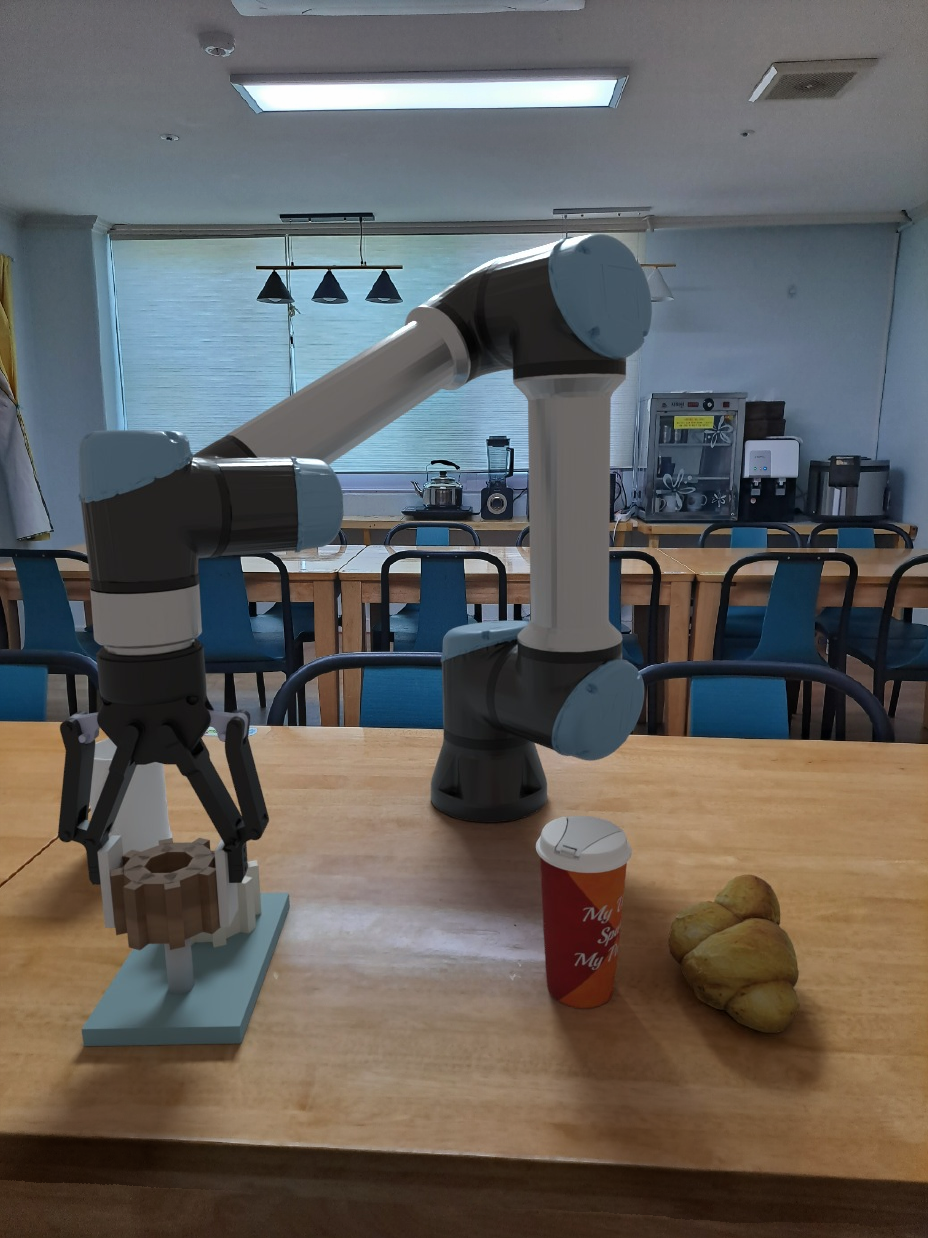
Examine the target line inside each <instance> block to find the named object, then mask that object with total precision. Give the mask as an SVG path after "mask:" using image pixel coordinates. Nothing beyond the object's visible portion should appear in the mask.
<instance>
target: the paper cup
mask: <svg viewBox="0 0 928 1238" xmlns="http://www.w3.org/2000/svg"><path fill="white" fill-rule="evenodd" d="M535 849H536V852H537V855H538V856H539V862H540V880H541V881H540V882H541V883H540V884H541V901H542V902H541V903H542V905H541V906H542V921H543V922H542V923H543V925H542V926H543V941H544V942H543V944H544V961H545V976H546V977H545V978H546V985H547V989H548V992H549V994H550V995H551V997H552V998H553V999H555V1000H556V1001H557V1002H559V1003H561V1004H562V1005H564V1006H566V1007H570V1008H575V1009H582V1010H586V1009H595V1008H598V1007H601V1006H603V1005H605V1004H607V1003H608V1002H609V1001H610V999H611V998H612V996H613V993H614V988H615V983H616V974H617V966H618V956H619V945H620V938H621V937H620V935H621V926H622V918H623V917H622V915H623V907H624V895H625V884H626V876H627V875H626V874H627V865H628V862H629V861H630V860H631V857H632V848H631V845H630V844H629V842H628V838H627V835H626V833H625V831H624V830H623V829H622V828H621V827H620V826H618V825H617V824H615V823H614V822H612V821H609V820H607V819H604V818H600V817H595V816H589V815H567V816H560V817H557V818H555V819H553V820H551V821H548V822H547V823H546V824H545V826H543V828H542V830H541V833H540V836H539V837H538V839H537V841H536V843H535Z"/></svg>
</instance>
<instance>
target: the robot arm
mask: <svg viewBox="0 0 928 1238" xmlns="http://www.w3.org/2000/svg"><path fill="white" fill-rule="evenodd" d="M652 304H653V303H652V295H651V290H650V285H649V282H648V279H647V276H646V274H645V271H644V269H643V267H642V265H641V263H640V262H638V261H637V259H636V257H635V254H634V253H633V252H632V250H631V249H630V248H629V247H628V246H627V245H626V244H625V243H623V242H622V240H619V239H617V238H615V237H614V236H611V235H608V234H604V233H591V234H587V235H582V236H566V237H564V238H561V239H559V240H558V241H555V242H551V243H549V244H545V245H542V246H538V247H535V248H532V249H528V250H527V249H526V250H524V251H520V252H517V253H513V254H509V255H504V256H500V257H497V258H494V259H492V260H489V261H488V262H485V263H483V264H481V265H479V266H478V267H476V268H474V269H473V270H471V271H469V272H468V273H466V274H465V275H464V276H462V277H460V278H459V279H457V280H456V281H454V282H452V283H451V284H450V285H448V286H447V287H445V288H444V289H442V290H441V291H439V292H438V293H436V294H434V295H433V296H432V297H431V298H429V299H427V300H425V301H424V302H423V303H421V304H420V305H418V306H416V307H414V308H413V309H411V310H410V311H409V313H408V314H407V316H406V319H405V322H404V326H402V327H401V328H399V329H398V330H396V331H394V332H392V333H391V334H389V335H387V336H386V337H384V338H383V339H381V340H379V341H378V342H377V343H375V344H372V345H371V346H370V347H368V348H366V349H364V350H363V351H362V352H360V353H358V354H356V355H355V356H353V357H351V358H350V359H349V360H346V361H345V362H344V363H342V364H340V365H339V366H337V367H335V368H334V369H332V370H330V371H329V372H327V373H325V374H324V375H322V376H321V377H319V378H317V379H315V380H314V381H312V382H310V383H308V384H307V385H306V386H304V387H302V388H300V389H299V390H297V391H296V392H294V393H293V394H291V395H289V396H288V397H286V398H285V399H283V400H280V401H279V402H278V403H276V404H275V405H273V406H271V407H270V408H268V409H266V410H264V411H263V412H261V413H260V414H258V415H256V416H255V417H253V418H251V419H250V420H249V421H246V422H245V423H243V424H242V425H240V426H238V427H237V428H235V429H234V430H232V431H229V432H228V433H227V434H225V436H223V437H221V438H219V439H218V440H215V441H213V442H211V444H209V445H208V446H205V447H204V448H202V449H201V450H198V451H197V452H196V453H193V451H192V450H191V444H190V441H189V438H188V436H187V435H186V434H184V433H183V432H181V431H176V430H150V429H149V430H147V429H146V430H145V429H143V430H141V429H140V430H139V429H138V430H137V429H135V430H134V429H128V430H127V429H121V430H120V429H119V430H116V429H109V430H107V429H106V430H95V431H91V432H88V433H86V434H85V435H84V436H83V438H82V439H81V440H80V441H79V445H78V475H79V476H78V477H79V478H78V479H79V494H78V502H80V506H81V508H80V509H81V515H82V521H83V522H82V523H83V531H84V539H85V548H86V555H87V562H88V564H87V565H88V573H89V586H90V589H89V590H90V601H91V615H92V617H91V618H92V627H93V628H92V629H93V639H94V641H95V643H97V644H98V645H100V646H101V647H100V649H99V650H98V651H97V652H96V654H95V656H96V657H95V658H96V668H97V676H98V677H97V678H98V679H97V680H98V687H99V695H100V697H101V705H100V708H99V710H98V712H92V713H91V712H90V713H88V712H86V711H84V710H79V711H77V712H76V713H74V714H72V715H71V716H69V717H68V718H66V719H65V720H63V721H62V722H61V723H60V724H59V731H60V735H61V739H62V741H63V745H64V748H65V749H64V750H65V755H64V756H65V757H64V765H63V766H64V767H63V775H62V776H63V778H62V788H61V796H60V807H59V819H58V829H57V837H58V839H59V841H61V842H63V843H71V842H75V843H78V844H81V845H82V846H83V847H84V848H85V849H84V850H85V852H86V863H87V870H88V871H87V872H88V879H89V882H90V883H91V885H92V886H97V885H99V886H100V891H101V900H102V909H103V917H104V919H103V921H104V929H116V928H115V918H114V908H113V897H112V887H111V877H110V870H112V869H117V868H123V859H122V855H123V847H122V837H121V835H112V836H111V837H110V838H109V833H110V832H111V831H112V830H113V829H114V827H113V824H114V822H115V819H116V817H117V814H118V812H119V809H120V806H121V804H122V801H123V799H124V796H125V794H126V791H127V789H128V786H129V784H130V781H131V779H132V776H133V773H134V771H135V768H136V766H137V765H146V764H150V763H154V762H157V763H161V764H163V765H166V766H167V765H168V766H169V765H175V766H176V767H177V769H178V771H179V772H180V775H182V776H184V777H186V779H187V781H188V782H189V784H190V786H191V788H192V789H193V791H194V793H195V795H196V796H197V798H198V800H199V802H200V803H201V805H202V807H203V809H204V810H205V812H206V814H207V816H208V818H209V819H210V821H211V823H212V825H213V826H214V828H215V831H216V832H217V833H218V836H219V837H220V841H219V843H218V845H217V846H216V847H215V849H214V851H215V863H216V877H217V891H218V905H219V920H220V927H230V925H231V923H232V920H233V918H234V916H235V914H236V912H237V910H238V893H237V883H242V881H243V879H244V877H245V875H246V872H247V869H248V862H249V861H248V848H247V847H248V845H247V842H248V841H258V840H260V839H261V838H262V836H263V834H264V833H265V830H266V828H267V827H268V824H269V822H270V816H269V812H268V809H267V805H266V802H265V798H264V793H263V790H262V786H261V782H260V778H259V775H258V771H257V767H256V763H255V759H254V755H253V751H252V747H251V744H250V740H249V735H250V734H249V733H250V732H249V731H250V725H251V713H250V712H249V711H247V709H239V710H237V711H236V712H227V711H220V710H215V709H214V707H213V705H212V703H211V702H210V700H209V698H208V694H207V693H208V692H207V676H206V675H207V674H206V662H205V650H204V649H205V647H204V645H203V643H202V642H201V641H200V640H199V639H197V638H198V637H199V636H200V635H201V634H202V633H203V628H202V624H203V623H202V610H201V606H202V605H201V593H200V573H199V559H203V558H204V559H209V558H211V559H212V558H217V557H223V556H225V557H226V556H234V555H235V556H237V555H238V556H240V555H251V554H252V555H254V554H266V553H268V554H269V553H279V552H280V553H282V552H294V553H298V554H299V553H300V552H301V551H303V550H311V549H315V548H316V549H317V548H323V547H326V546H328V545H330V544H331V543H332V542H333V541H335V539H336V537H337V536H338V534H339V532H340V530H341V527H342V524H343V520H344V494H343V489H342V486H341V482H340V480H339V478H338V475H337V473H336V472H335V471H334V469H333V468H332V466H330V465H331V464H332V463H334V462H335V461H337V460H338V459H340V458H342V456H344V455H345V454H347V453H349V452H350V451H352V450H353V449H354V448H356V447H357V446H359V445H360V444H363V442H365V441H366V440H368V439H369V438H371V437H373V435H375V434H376V433H378V432H379V431H381V430H382V429H384V428H385V427H387V426H388V425H390V424H391V423H393V422H394V421H396V420H398V419H400V417H402V416H404V415H405V414H406V413H408V412H409V411H412V410H413V409H414V408H416V407H417V406H418V405H420V404H421V403H423V402H424V401H426V400H428V399H429V398H430V397H432V396H433V395H435V394H436V393H437V392H439V391H441V390H445V391H455V390H458V389H460V388H462V387H464V386H465V385H466V384H467V383H469V382H471V381H472V380H474V379H477V378H480V377H481V376H484V375H485V376H486V375H488V374H489V375H490V374H492V373H496V372H501V371H509V370H512V382H513V385H514V386H515V387H516V388H517V389H518V390H519V391H520V392H521V394H523V395H524V396H525V399H526V400H527V422H528V423H527V426H528V427H527V428H528V434H527V435H528V436H527V437H528V441H527V442H528V497H529V498H528V501H529V502H528V504H529V505H528V506H529V507H528V509H529V510H528V511H529V514H528V516H529V517H528V518H529V519H528V520H529V577H530V578H529V580H530V581H529V583H530V584H529V590H530V592H529V593H530V595H529V596H530V604H529V605H530V620H529V621H526V620H497V621H484V622H477V623H475V622H474V623H471V624H470V623H469V624H464V625H461V626H460V625H459V626H456V627H454V628H451V629H449V630H448V631H447V632H446V634H445V635H444V636H443V639H442V649H441V650H442V652H441V658H440V664H441V682H442V683H441V684H442V687H441V689H442V719H443V720H442V721H443V723H442V724H443V725H442V727H443V741H442V745H441V748H440V752H439V755H438V758H437V761H436V763H435V767H434V769H433V773H432V776H431V779H430V800H431V803H432V804H433V806H434V807H435V808H436V809H438V811H440V812H442V813H443V814H445V815H447V816H450V817H453V818H455V819H460V820H464V821H470V822H482V823H500V822H509V821H515V820H519V819H523V818H526V817H529V816H531V815H533V814H535V813H537V812H539V811H540V810H542V809H543V808H544V807H545V805H546V804H547V800H548V782H547V781H548V780H547V777H546V774H545V771H544V768H543V765H542V761H541V759H540V756H539V755H540V754H539V752H538V748H537V746H536V744H537V745H539V746H541V747H545V748H547V749H550V750H552V751H555V752H556V753H557V754H558V755H561V756H565V757H573V758H576V759H579V760H580V759H581V760H583V761H589V762H590V761H598V760H602V759H604V758H607V757H609V756H610V755H612V754H613V753H614V752H616V751H617V750H618V749H620V747H621V746H623V744H624V743H625V742H626V741H627V739H628V737H629V736H630V734H631V733H632V732H633V731H634V729H635V727H636V725H637V723H638V721H639V718H640V717H641V716H640V715H641V713H642V709H643V706H644V700H645V685H644V684H645V683H644V680H643V676H642V674H641V673H640V672H639V669H638V668H637V667H636V666H635V665H634V664H633V663H631V662H629V661H628V660H626V659H623V635H622V633H621V632H620V631H619V629H617V628H616V627H615V626H614V625H613V624H612V623H611V622H610V619H609V618H610V617H609V615H610V613H609V610H610V603H609V602H610V595H609V594H610V517H611V516H610V515H611V514H610V511H611V510H610V508H611V500H610V498H611V495H610V494H611V493H610V491H611V419H612V416H611V409H612V408H611V407H612V405H611V404H612V403H611V401H612V399H611V398H612V396H613V394H614V392H615V391H617V389H618V388H619V387H620V386H621V385H622V384H623V383H624V381H625V380H627V358H628V357H631V356H632V355H633V354H634V353H636V352H638V350H639V349H641V347H642V346H643V344H644V343H645V337H647V336H648V334H649V331H650V329H651V324H652V318H653V317H652V315H653V305H652ZM210 727H211V728H212V729H214V730H215V731H216V734H217V739H218V740H219V741H220V742H222V743H224V753H225V758H226V761H227V765H228V769H229V770H228V771H229V772H230V776H231V780H232V785H233V788H234V791H235V795H236V799H237V802H238V806H237V804H236V803H235V802H234V800H233V798H232V796H231V794H230V792H229V791H228V789H227V787H226V785H225V783H224V782H223V779H222V778H221V776H220V774H219V773H218V771H217V769H216V767H215V766H214V764H213V762H212V760H211V758H210V756H211V755H210V751H209V749H208V747H207V745H206V744H205V742H204V741H203V736H204V735H205V734H206V732H207V731H208V730H209V728H210ZM100 730H101V731H102V732H103V733H104V734H105V735H106V736H107V738H108V739H110V740H111V741H112V742H113V743H114V744H115V745H116V747H117V748H116V751H115V754H114V756H113V759H112V761H111V764H110V767H109V774H108V776H107V779H106V781H105V784H104V787H103V789H102V792H101V794H100V797H99V800H98V802H97V805H96V807H95V810H94V812H93V815H92V817H91V818H90V820H89V812H90V794H91V784H92V774H93V764H94V754H95V743H96V739H97V738H98V737H99V735H100ZM238 807H239V808H238Z"/></svg>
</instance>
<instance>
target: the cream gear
mask: <svg viewBox="0 0 928 1238" xmlns="http://www.w3.org/2000/svg"><path fill="white" fill-rule="evenodd" d="M247 862H248V869H247V872H246V875H245V877H244V879H243V881H242V883H237V893H238V910H237V912H236V914H235V916H234V918H233V920H232V923H231V925H230V927H221V928H219V929H218V930H217V931H216V932H215V933H213V934H209V933H205V932H202V933H199V934H197V935H195V936H193V937H190V940H191V945H193V944H194V943H195V942H213V947H218V946H223V945H227V944H226V938H228V937H231V936H233V935H235V934H237V933H239V932H243V933H247V934H249V933H250V932H251V931H252V930H254V929H255V928H256V919H255V915H258V914H262V911H261V896H260V893H261V884H260V883H261V882H260V870H259V869H260V868H259V867H260V866H259V864H258V861H257V859H254V860H250V861H247Z"/></svg>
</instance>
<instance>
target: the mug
mask: <svg viewBox="0 0 928 1238" xmlns="http://www.w3.org/2000/svg"><path fill="white" fill-rule="evenodd" d="M116 748H117V747H116V745H115V744H114V743H113V742H112V741H111V740H110V739H109V738H104V739H102V740H100V741H97V742H95V754H94V764H93V774H92V784H91V794H90V803H89V809H90V814H91V815H90V817H91V818H92V815H93V812H94V810H95V807H96V805H97V802H98V800H99V797H100V794H101V792H102V789H103V787H104V784H105V781H106V779H107V776H108V774H109V767H110V764H111V761H112V759H113V756H114V754H115V751H116ZM166 788H167V787H166V778H165V767H164V764H161V763H157V762H154V763H150V764H146V765H137V766H136V768H135V771H134V773H133V776H132V779H131V781H130V784H129V786H128V789H127V791H126V794H125V796H124V799H123V801H122V804H121V806H120V809H119V812H118V814H117V817H116V819H115V822H114V824H113V827H114V829H113V830H112V831H111V832H110V833H109V838H110V837H111V836H112V835H121V837H122V847H123V855H124V854H126V853H127V852H129V851H131V850H136V851H140V852H141V851H144V850H147V849H150V848H152V847H155V846H158V845H159V841H158V840H164V839H169V838H172V839H173V832H172V830H171V828H170V821H169V812H168V811H169V809H168V802H167V789H166Z"/></svg>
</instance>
